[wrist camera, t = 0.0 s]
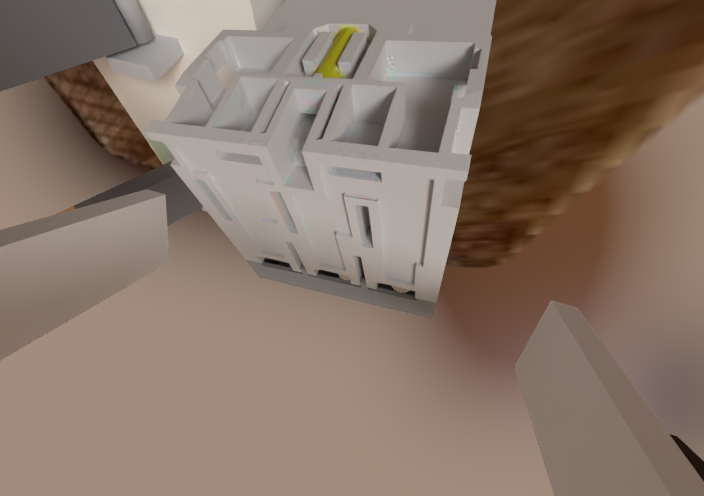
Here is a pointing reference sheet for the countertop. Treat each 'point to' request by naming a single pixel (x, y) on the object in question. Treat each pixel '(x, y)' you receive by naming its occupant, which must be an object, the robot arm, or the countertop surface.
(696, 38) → the countertop surface
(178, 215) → the lever
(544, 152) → the countertop surface
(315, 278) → the circuit breaker
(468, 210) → the countertop surface
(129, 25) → the lever
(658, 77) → the countertop surface
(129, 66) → the console
